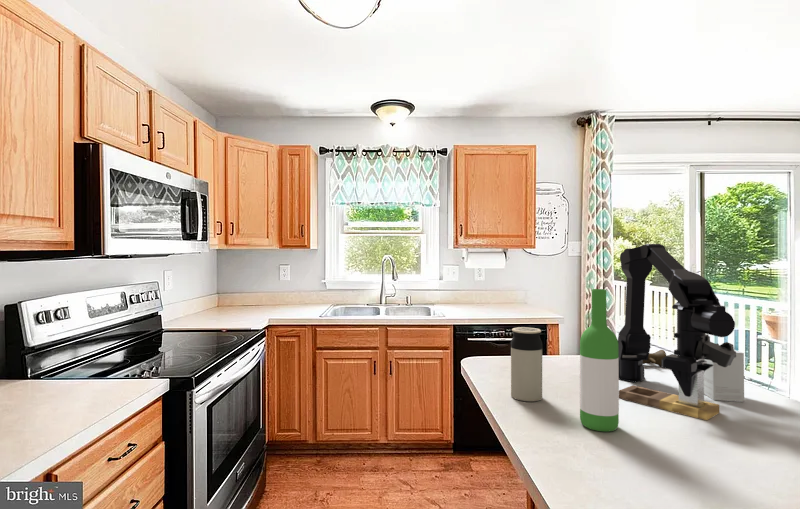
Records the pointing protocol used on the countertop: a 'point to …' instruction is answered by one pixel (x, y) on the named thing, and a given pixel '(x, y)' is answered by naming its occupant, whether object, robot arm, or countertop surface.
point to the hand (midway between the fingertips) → (691, 394)
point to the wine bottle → (599, 370)
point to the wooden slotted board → (667, 402)
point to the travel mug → (526, 364)
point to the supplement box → (725, 380)
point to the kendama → (655, 357)
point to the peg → (694, 392)
